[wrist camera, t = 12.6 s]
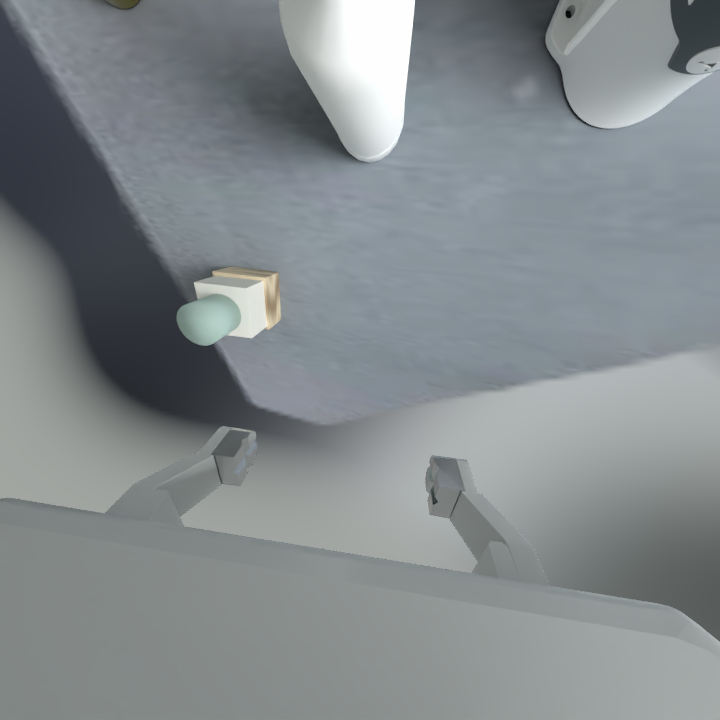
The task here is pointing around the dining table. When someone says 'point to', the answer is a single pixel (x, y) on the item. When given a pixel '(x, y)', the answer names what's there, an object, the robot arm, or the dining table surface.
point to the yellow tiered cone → (123, 3)
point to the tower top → (239, 301)
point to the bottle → (354, 65)
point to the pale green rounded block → (208, 319)
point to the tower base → (270, 289)
